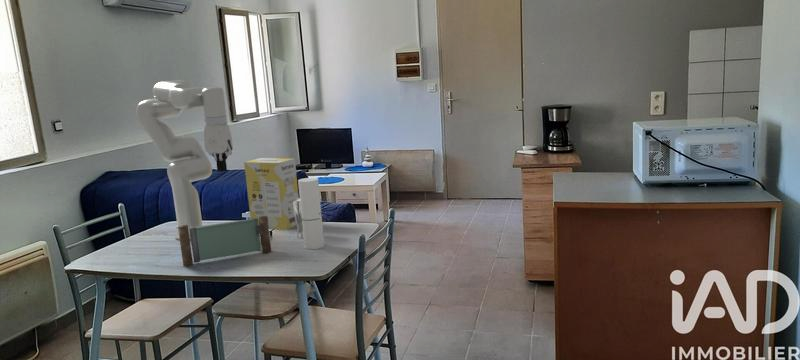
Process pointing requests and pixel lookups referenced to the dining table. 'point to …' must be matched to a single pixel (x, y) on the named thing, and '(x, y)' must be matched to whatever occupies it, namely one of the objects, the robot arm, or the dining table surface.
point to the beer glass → (298, 217)
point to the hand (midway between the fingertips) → (222, 170)
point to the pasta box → (272, 190)
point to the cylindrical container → (311, 213)
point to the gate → (224, 239)
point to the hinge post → (185, 245)
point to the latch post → (264, 234)
